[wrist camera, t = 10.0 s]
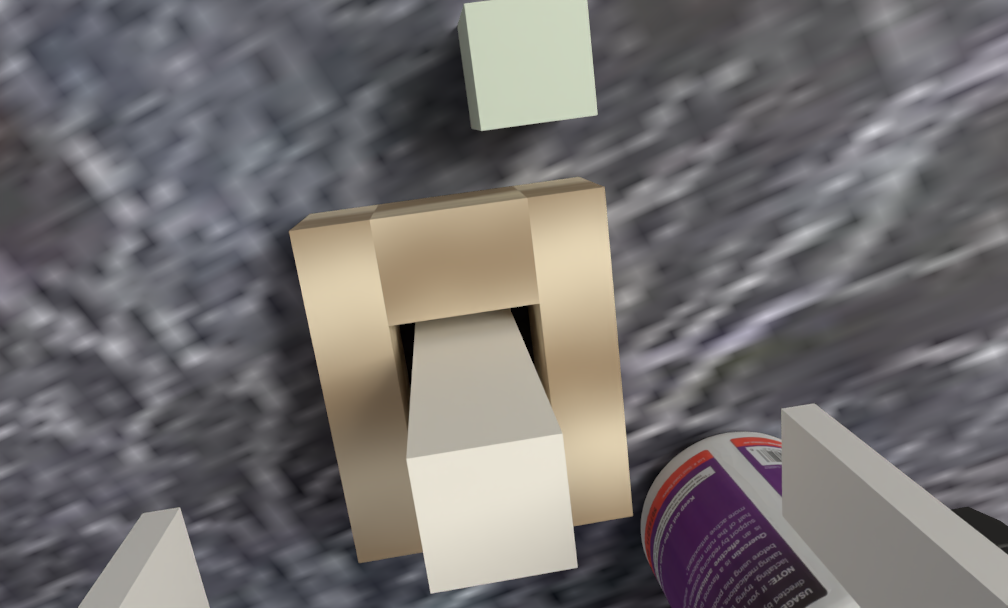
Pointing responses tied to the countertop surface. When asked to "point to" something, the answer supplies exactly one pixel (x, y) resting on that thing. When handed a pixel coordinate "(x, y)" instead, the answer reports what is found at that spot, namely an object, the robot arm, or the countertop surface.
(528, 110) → the short peg
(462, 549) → the long peg
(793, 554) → the pill bottle
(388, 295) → the hole block
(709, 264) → the countertop surface
